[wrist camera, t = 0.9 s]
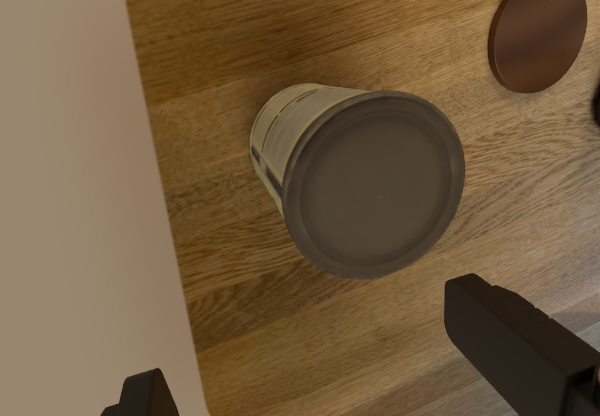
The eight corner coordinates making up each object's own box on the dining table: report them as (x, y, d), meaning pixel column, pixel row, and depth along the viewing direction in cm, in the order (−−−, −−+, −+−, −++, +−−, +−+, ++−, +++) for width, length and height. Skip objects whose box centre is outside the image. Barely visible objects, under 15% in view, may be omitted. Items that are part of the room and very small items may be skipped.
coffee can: (383, 121, 33) (500, 156, 20) (323, 216, 34) (395, 303, 22) (288, 55, 29) (359, 44, 16) (226, 166, 30) (245, 237, 18)
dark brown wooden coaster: (472, 18, 31) (479, 17, 31) (565, -52, 31) (573, -55, 31) (507, 113, 36) (513, 114, 35) (588, 52, 36) (596, 52, 35)
